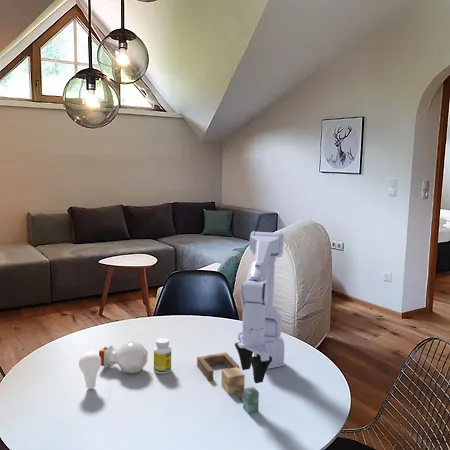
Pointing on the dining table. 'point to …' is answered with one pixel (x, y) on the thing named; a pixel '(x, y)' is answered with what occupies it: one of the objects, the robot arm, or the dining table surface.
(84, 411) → the dining table surface
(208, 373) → the wooden u-shaped bracket
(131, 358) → the potion bottle
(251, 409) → the wooden blocks on rod
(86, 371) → the lightbulb
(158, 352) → the supplement bottle
